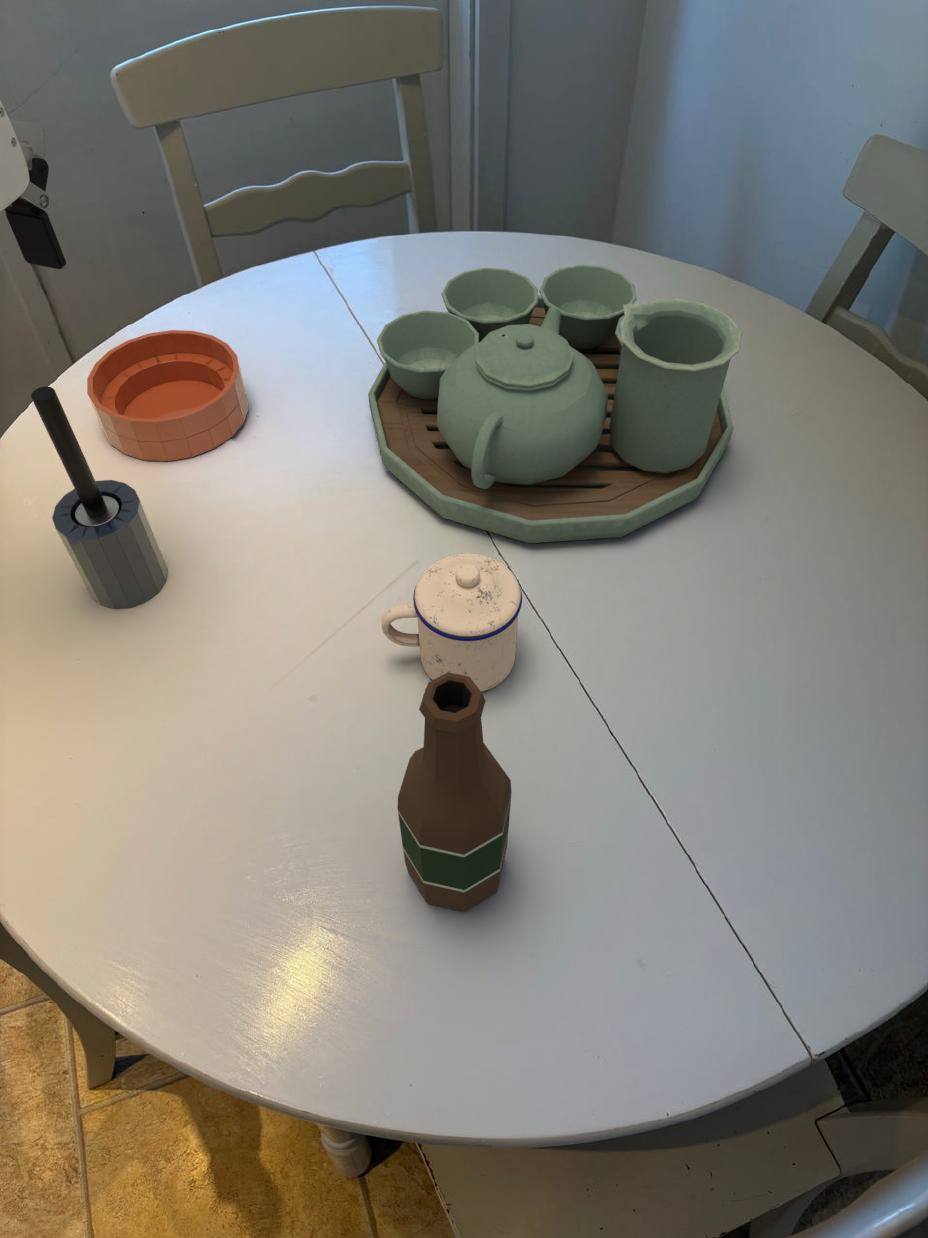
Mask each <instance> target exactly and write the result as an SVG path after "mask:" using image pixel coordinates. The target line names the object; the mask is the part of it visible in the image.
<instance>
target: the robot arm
mask: <svg viewBox="0 0 928 1238" xmlns="http://www.w3.org/2000/svg"><path fill="white" fill-rule="evenodd" d="M45 139H46V138H45V130H44V128H43V125H41V124H40V123H36V122H31V121H23V120H17V119H11V118H9V116H8V113H7V111H6V109H5V107H4V105H3V103H2V101H1V99H0V213H1V212H2V211H3V210H4V212H5V217H6V220H7V221H8V224H9V226H10V228H11V231H12V233H13V235H14V238H15V240H16V243H17V244H18V247H19V249H20V252H21V254H22V256H23V259H24V261H25V262H26V263H27V264H30V265H34V266H35V265H36V266H41V267H45V268H50V269H56V270H62V269H64V268H65V266H66V265H67V261H66V258H65V255H64V253H63V250H62V247H61V245H60V242H59V239H58V237H57V235H56V232H55V229H54V227H53V225H52V222H51V219H50V217H49V214H48V212H46V211H48V210H49V209H50V207H51V198H50V197H51V196H50V195H49V194H48V193H47V192H46V191H47V186H48V185H47V184H48V179H49V178H48V177H49V171H50V168H49V164H48V161H47V160H45V157H47V156H46V140H45Z"/></svg>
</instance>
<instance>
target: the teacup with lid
mask: <svg viewBox="0 0 928 1238" xmlns="http://www.w3.org/2000/svg"><path fill="white" fill-rule="evenodd" d="M412 597H413V598H412V599H413V601H412V602H413V603H406V604H397V605H395V606H392V607H390V608H387V610H385V611H384V613H383V614H382V616H381V622H380V623H381V624H380V625H381V631H382V633H383V634H384V636H385V637H386V638H387V639H388V640H389V641H391V642H392V643H394V644H396V645H398V646H402V647H409V648H410V647H412V648H413V647H414V648H415V647H417V648H419V655H420V662H421V666H422V668H423V670H424V672H425V674H426V675H427V676H428V677H429V679H431V681H432V680H434V679H436V678H438V677H440V676H442V675H444V674H446V673H447V672H449V673H454V674H459V675H464V676H469V677H470V678H471V679H472V680H473V682H474V683H475V684H476V686H477V687H478V688H479V690H480V691H481V692H485V691H488V690H491V689H493V688H495V687H496V686H498V685H499V684H501V683H502V682H503V681H504V680H505V679H506V678H507V677H508V676H509V674H511V671H512V670H513V667H514V664H515V661H516V653H517V651H516V650H517V635H518V625H519V614H520V612H521V609H522V604H523V592H522V588H521V586H520V583H519V580H518V579H517V577H516V575H515V574H514V572H513V571H512V570H511V569H509V568H508V567H507V566H506V565H505V564H503V563H502V562H500V560H497V559H495V558H493V557H491V556H488V555H484V554H480V553H457V554H451V555H449V556H445V557H442V558H441V559H439V560H436V561H435V562H433V563H432V564H430V565H429V566H428V567H427V568H426V569H425V570H424V571H423V572H422V574H421V575H420V577H419V578H418V580H417V582H416V585H415V587H414V590H413V595H412ZM415 618H416V619H417V627H418V633H409V632H408V633H407V632H402V631H401V630H400V631H399V630H397V629H396V628H395V627H393V625H392V623H393V622H395V621H397V620H401V619H415Z"/></svg>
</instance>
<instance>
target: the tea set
mask: <svg viewBox="0 0 928 1238" xmlns="http://www.w3.org/2000/svg"><path fill="white" fill-rule="evenodd" d="M441 298H442V301H443V304H444V307H445V308H446V310H447V311H437V310H436V311H435V310H422V311H415V312H410V313H406V314H401V315H400V316H398V317H396V318H395V319H393V320H391V321H389V322H388V323H386V324H384V326H383V328H382V330H381V332H380V333H379V334H378V337H377V339H376V342H377V347H378V351H379V353H380V354H379V355H380V356H381V357H382V359H383V360H384V363H383V366H382V367H381V369H380V371H379V373H378V375H377V377H375V380H374V382H373V384H372V385H371V387H370V389H369V391H368V394H367V397H368V405H369V406H368V407H369V411H370V415H371V418H372V423H373V427H374V432H375V436H376V441H377V444H378V449H379V452H380V458H381V462H382V464H383V465H384V467H385V468H386V469H387V471H389V472H390V473H391V474H392V475H393V476H394V477H395V478H396V479H398V480H399V481H400V482H401V483H403V484H404V485H405V486H406V487H407V488H408V489H409V490H410V491H412V492H413V493H414V495H416V496H417V497H418V498H420V499H421V500H422V501H423V502H424V503H425V504H427V505H428V506H429V507H430V508H431V509H432V510H433V511H434V512H436V514H438V515H439V516H440V517H441V518H442V519H446V520H450V521H452V522H455V523H456V522H457V523H460V524H464V525H467V526H470V527H474V528H477V529H480V530H483V531H487V532H490V533H493V534H496V535H499V536H503V537H507V538H509V539H510V538H511V539H513V540H517V541H519V542H523V543H527V544H537V543H538V544H539V543H551V542H566V541H567V542H568V541H580V540H595V539H596V540H597V539H610V538H611V539H612V538H622V537H624V536H627V535H628V534H630V533H633V532H634V531H636V530H638V529H640V528H642V527H644V526H646V525H648V524H650V523H652V522H654V521H656V520H659V518H663V517H664V516H665V515H667V514H670V513H671V512H673V511H676V510H677V509H679V508H681V507H683V506H685V505H687V504H690V503H691V502H693V501H694V500H695V499H697V497H698V496H700V493H701V492H702V491H703V488H704V487H705V485H706V483H707V481H708V480H709V478H710V477H711V475H712V473H713V471H714V469H715V468H716V465H717V464H718V462H719V460H720V459H721V457H722V455H723V454H724V453H725V450H726V449H727V446H728V445H729V443H730V441H731V438H732V435H733V433H734V432H733V431H734V425H733V420H732V417H731V412H730V408H729V403H728V399H727V395H726V391H725V388H724V387H725V386H724V384H725V381H726V377H727V373H728V370H729V366H730V364H731V363H730V362H731V360H732V359H733V357H735V356H736V355H737V354H739V353H740V350H741V344H742V337H743V333H742V332H741V330H740V329H739V328H738V325H737V324H736V323H735V322H734V320H733V318H732V316H729V315H728V314H726V313H724V312H722V311H721V310H719V309H717V308H715V307H713V306H712V305H710V304H708V303H703V302H699V301H694V300H690V299H686V298H663V299H652V300H650V301H647V302H644V303H635V302H636V301H638V299H637V292H636V286H635V284H634V283H633V282H632V281H631V280H629V278H627V277H626V276H625V275H624V274H623V273H621V272H618V271H616V270H613V269H611V268H609V267H605V266H603V265H601V266H600V265H590V264H589V265H587V264H576V265H572V266H567V267H560V268H558V269H556V270H555V271H553V272H552V273H550V274H548V275H547V276H545V277H544V278H543V281H542V283H541V285H540V288H539V289H538V287H537V286H536V285H535V284H534V283H533V282H532V281H531V280H530V279H529V277H527V276H525V275H523V274H521V273H518V272H515V271H513V270H511V269H508V268H494V267H481V268H476V269H471V270H465V271H462V272H461V273H460V274H457V275H456V276H454V277H452V278H450V279H449V280H447V283H446V284H445V286H444V288H443V290H442V292H441Z"/></svg>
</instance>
